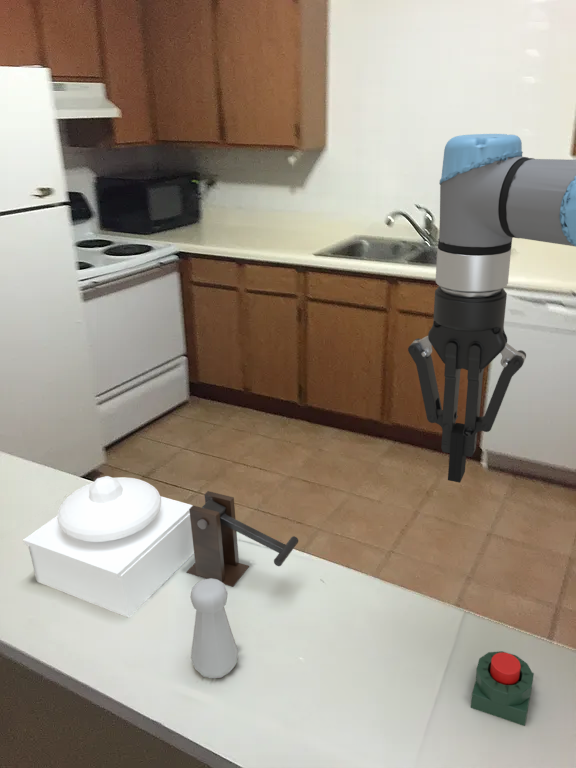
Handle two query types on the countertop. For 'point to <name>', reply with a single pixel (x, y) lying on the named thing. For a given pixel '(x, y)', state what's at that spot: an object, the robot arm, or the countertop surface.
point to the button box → (502, 692)
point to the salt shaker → (212, 630)
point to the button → (505, 668)
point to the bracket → (215, 543)
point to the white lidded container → (112, 543)
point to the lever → (254, 533)
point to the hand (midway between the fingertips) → (456, 475)
